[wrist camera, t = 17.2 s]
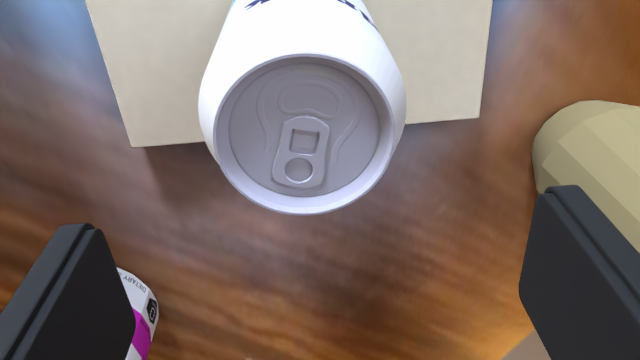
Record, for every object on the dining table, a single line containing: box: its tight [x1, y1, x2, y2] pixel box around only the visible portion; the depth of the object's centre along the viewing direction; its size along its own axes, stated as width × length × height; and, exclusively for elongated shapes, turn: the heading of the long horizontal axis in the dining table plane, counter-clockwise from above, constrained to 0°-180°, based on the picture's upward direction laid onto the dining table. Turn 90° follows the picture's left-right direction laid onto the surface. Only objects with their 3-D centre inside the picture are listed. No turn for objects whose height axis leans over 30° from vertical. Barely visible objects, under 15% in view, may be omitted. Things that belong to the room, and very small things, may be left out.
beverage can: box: [198, 0, 406, 215], centre depth 20 cm, size 7×7×12 cm
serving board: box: [85, 0, 493, 148], centre depth 26 cm, size 20×12×2 cm, turn 94°
